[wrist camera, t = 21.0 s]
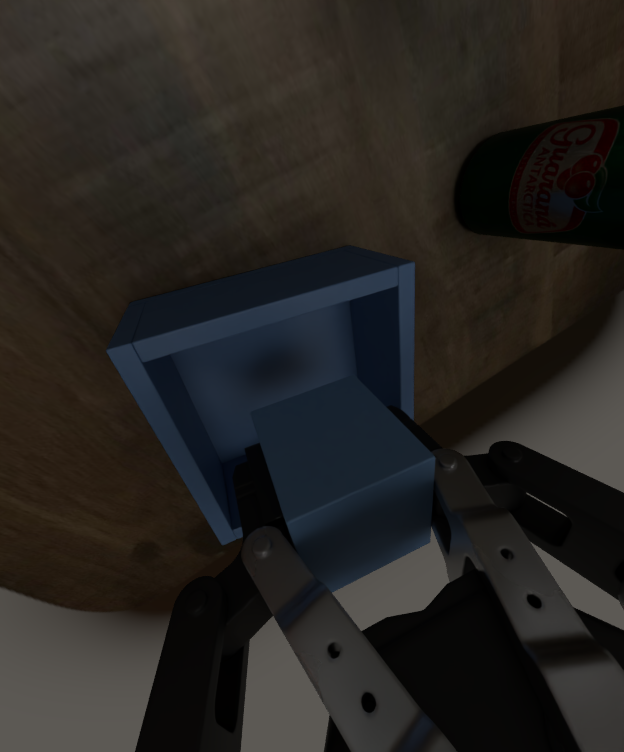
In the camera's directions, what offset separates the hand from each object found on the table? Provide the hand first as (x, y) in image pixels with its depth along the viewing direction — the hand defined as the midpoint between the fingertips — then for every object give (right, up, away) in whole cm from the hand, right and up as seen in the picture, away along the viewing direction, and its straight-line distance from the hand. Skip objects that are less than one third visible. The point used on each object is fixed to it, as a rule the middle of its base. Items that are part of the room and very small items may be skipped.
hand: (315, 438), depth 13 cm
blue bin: (-2, +3, +6) cm, 7 cm away
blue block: (0, 0, 0) cm, 0 cm away
